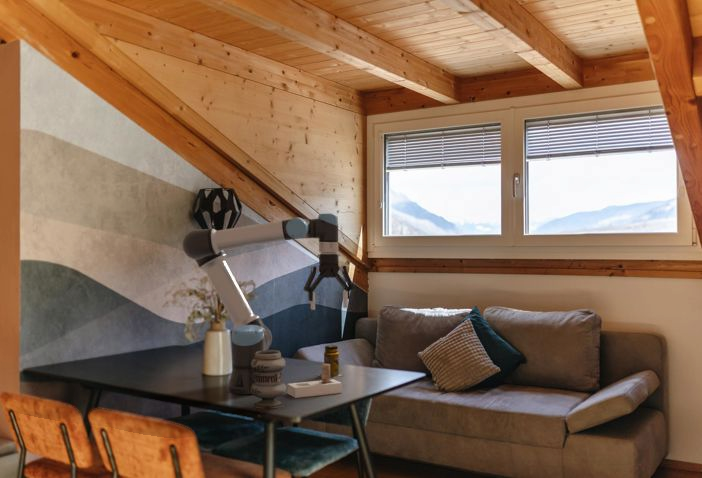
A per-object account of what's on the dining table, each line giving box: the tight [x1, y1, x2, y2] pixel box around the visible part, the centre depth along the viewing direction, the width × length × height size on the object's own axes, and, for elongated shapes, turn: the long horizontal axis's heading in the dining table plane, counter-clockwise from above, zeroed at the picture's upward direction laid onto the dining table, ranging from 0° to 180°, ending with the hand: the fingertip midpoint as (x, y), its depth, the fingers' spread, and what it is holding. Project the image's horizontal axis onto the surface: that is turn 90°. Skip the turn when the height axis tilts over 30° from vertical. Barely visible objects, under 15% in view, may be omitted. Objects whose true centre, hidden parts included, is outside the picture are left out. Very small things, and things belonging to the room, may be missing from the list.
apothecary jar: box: [250, 349, 288, 410], centre depth 239 cm, size 12×12×18 cm
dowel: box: [321, 363, 331, 384], centre depth 260 cm, size 3×3×10 cm
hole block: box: [286, 378, 343, 399], centre depth 258 cm, size 18×8×4 cm, turn 115°
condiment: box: [316, 344, 343, 378], centre depth 292 cm, size 7×8×12 cm
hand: (329, 308), depth 276 cm, fingers open, 13 cm apart
